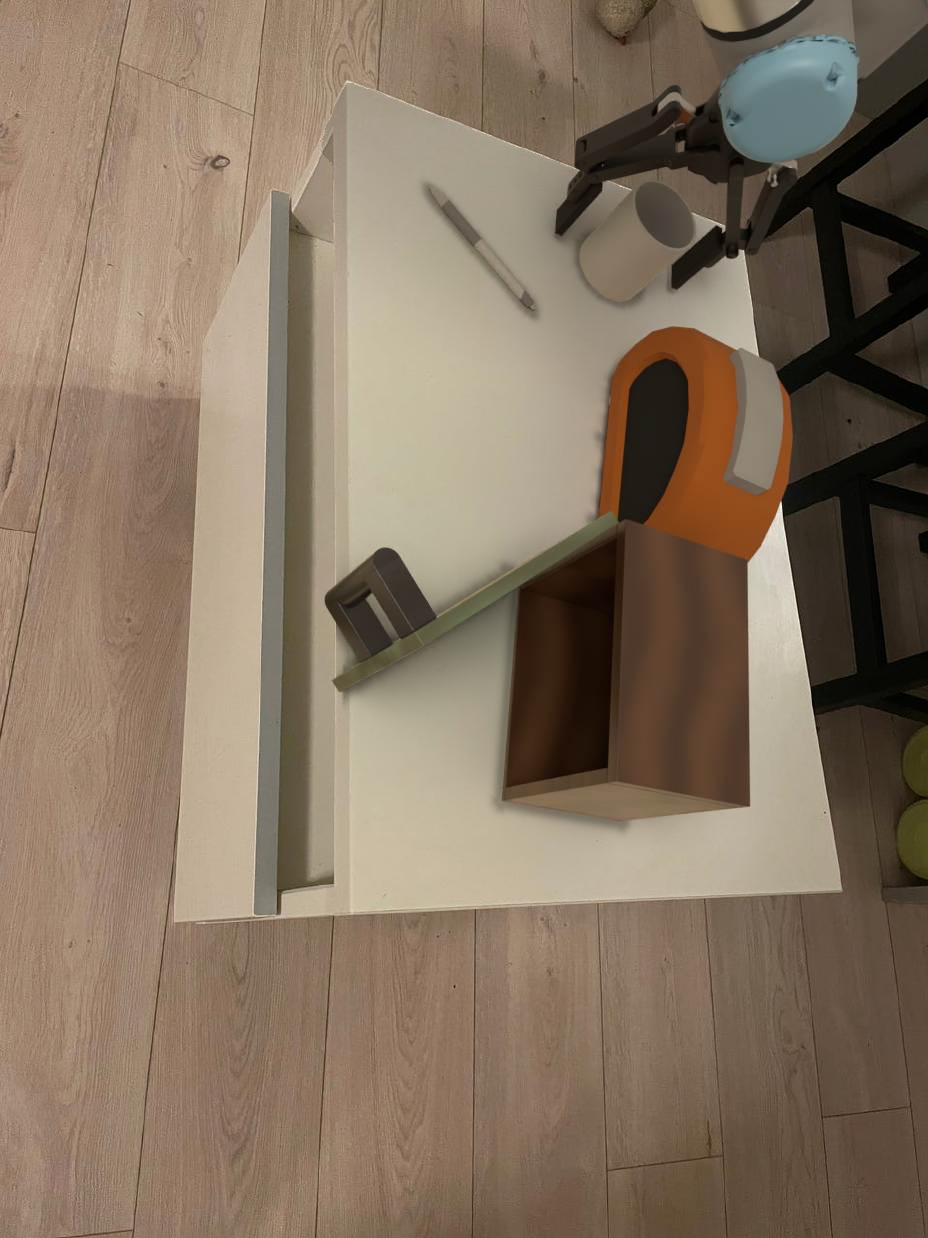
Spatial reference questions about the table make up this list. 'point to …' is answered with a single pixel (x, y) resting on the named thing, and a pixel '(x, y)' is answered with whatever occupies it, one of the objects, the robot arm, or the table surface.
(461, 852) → the table surface
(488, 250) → the pen
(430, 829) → the table surface
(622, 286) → the cup
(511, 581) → the cupboard door
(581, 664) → the cupboard
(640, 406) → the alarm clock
